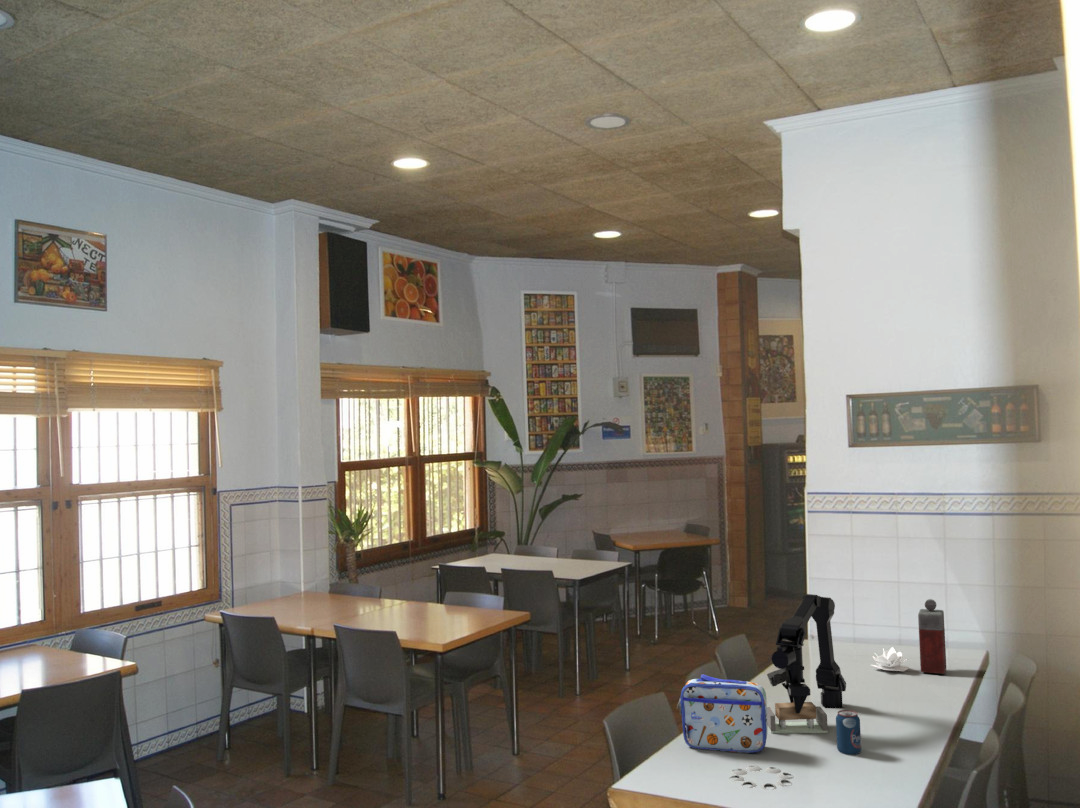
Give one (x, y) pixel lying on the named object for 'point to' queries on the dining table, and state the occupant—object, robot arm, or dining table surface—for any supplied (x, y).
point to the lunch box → (724, 715)
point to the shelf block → (788, 711)
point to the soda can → (848, 732)
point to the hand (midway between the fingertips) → (795, 710)
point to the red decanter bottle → (932, 639)
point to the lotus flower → (890, 660)
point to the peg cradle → (798, 724)
